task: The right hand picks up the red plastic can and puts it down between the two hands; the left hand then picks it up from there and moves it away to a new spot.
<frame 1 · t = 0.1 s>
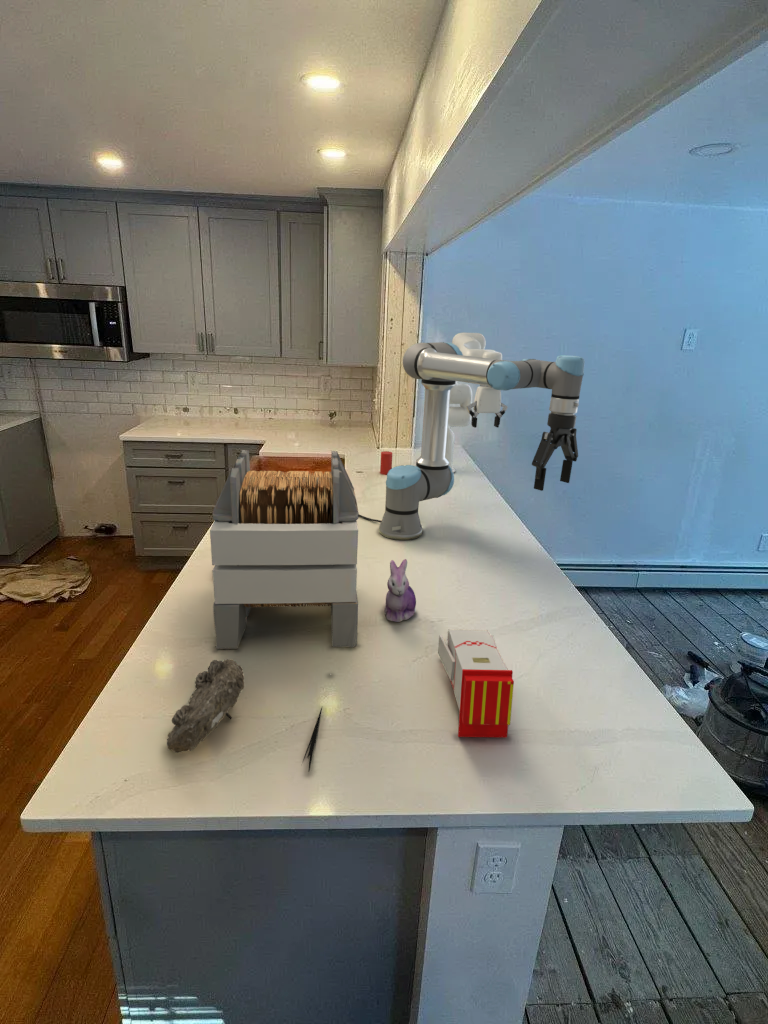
left hand: (551, 485, 166), 28 cm above the counter, tool pointing down, fingers open, 13 cm apart
right hand: (485, 426, 229), 31 cm above the counter, tool pointing down, fingers open, 9 cm apart
can: (385, 473, 272), on the counter
feather: (319, 719, 109), on the counter
fossil: (212, 717, 108), on the counter
figurine: (399, 614, 147), on the counter
toy: (469, 691, 119), on the counter
grey record storage rack: (290, 612, 146), on the counter
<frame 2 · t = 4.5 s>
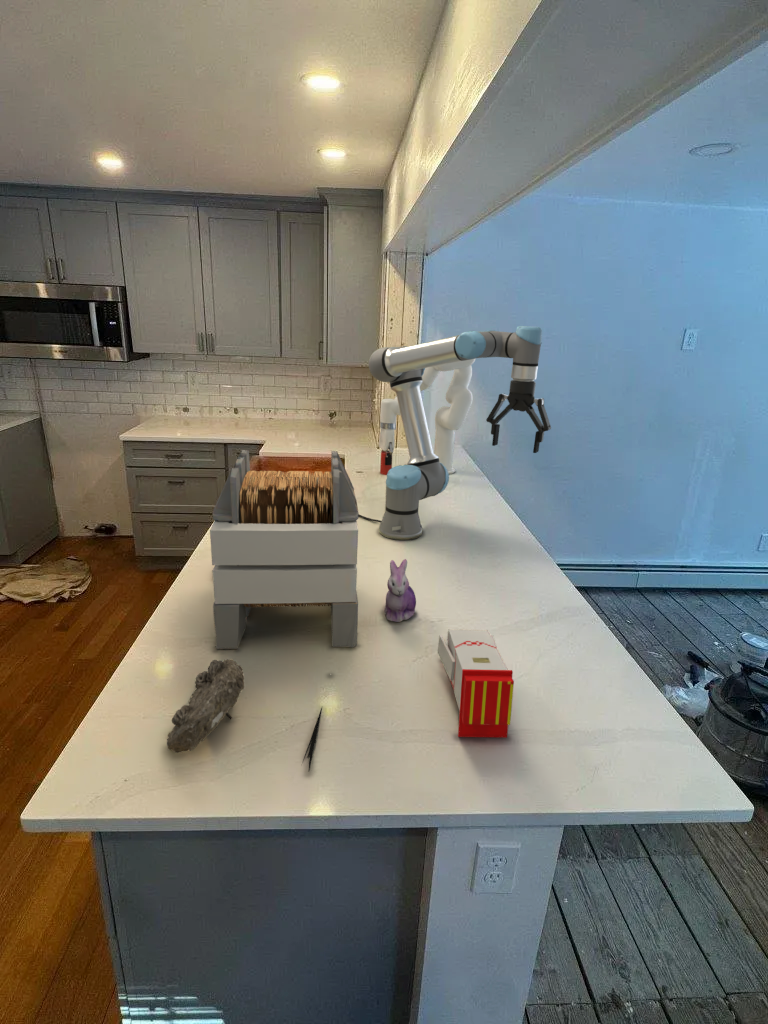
left hand: (514, 448, 179), 35 cm above the counter, tool pointing down, fingers open, 13 cm apart
right hand: (386, 463, 271), 5 cm above the counter, tool pointing down, fingers closed on can, 5 cm apart
can: (385, 473, 272), on the counter, touching right hand
everything else where it was.
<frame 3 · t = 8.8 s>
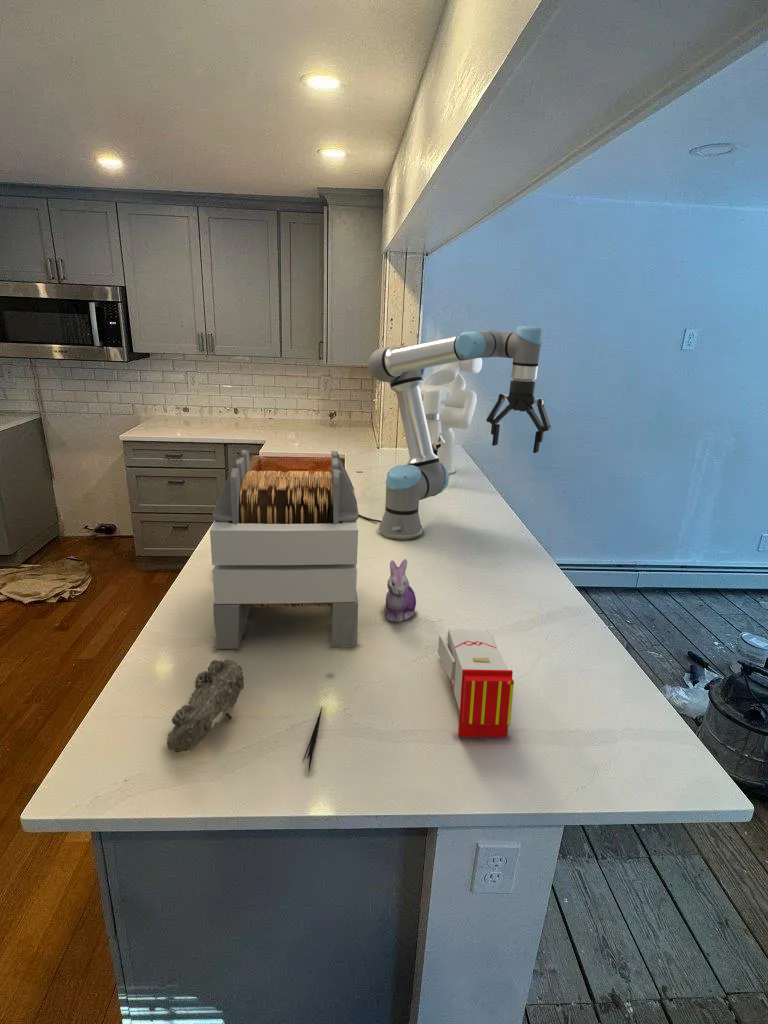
left hand: (514, 448, 179), 35 cm above the counter, tool pointing down, fingers open, 13 cm apart
right hand: (428, 456, 255), 13 cm above the counter, tool pointing down, fingers closed on can, 5 cm apart
can: (427, 467, 257), point 8 cm above the counter, touching right hand
everything else where it was.
when the right hand's fingers open (6 cm above the counter, at t = 13.3 s): can drops 1 cm, on the counter.
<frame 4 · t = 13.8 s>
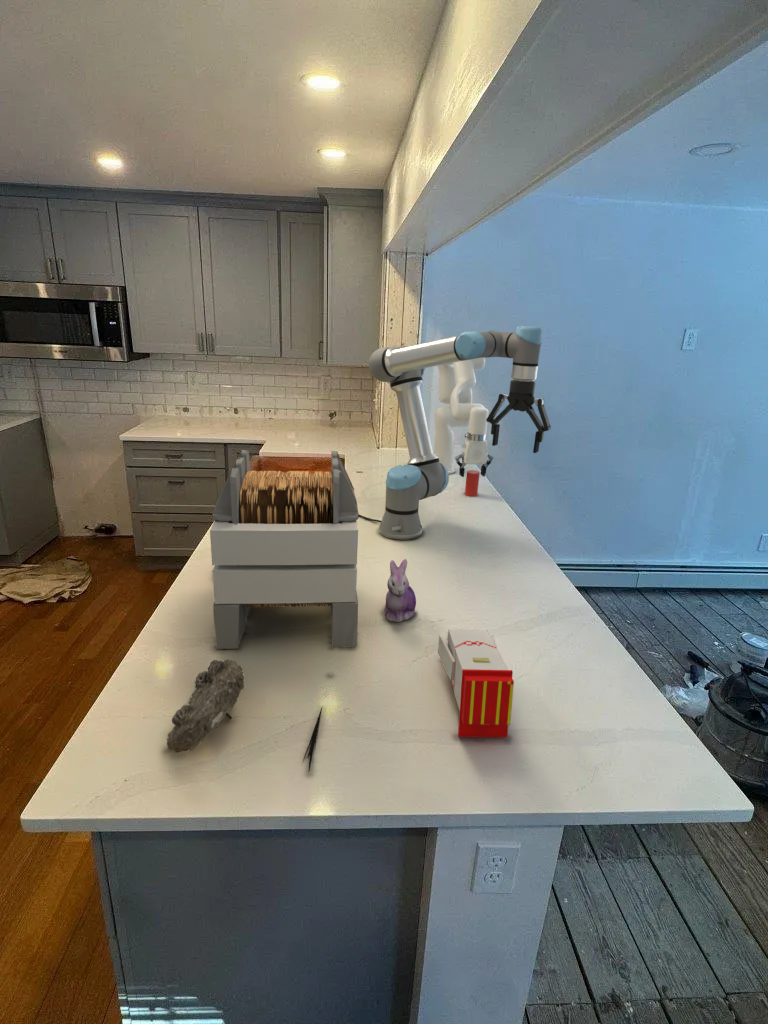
left hand: (514, 448, 179), 35 cm above the counter, tool pointing down, fingers open, 13 cm apart
right hand: (472, 475, 244), 8 cm above the counter, tool pointing down, fingers open, 9 cm apart
can: (471, 494, 247), on the counter
everything else where it was.
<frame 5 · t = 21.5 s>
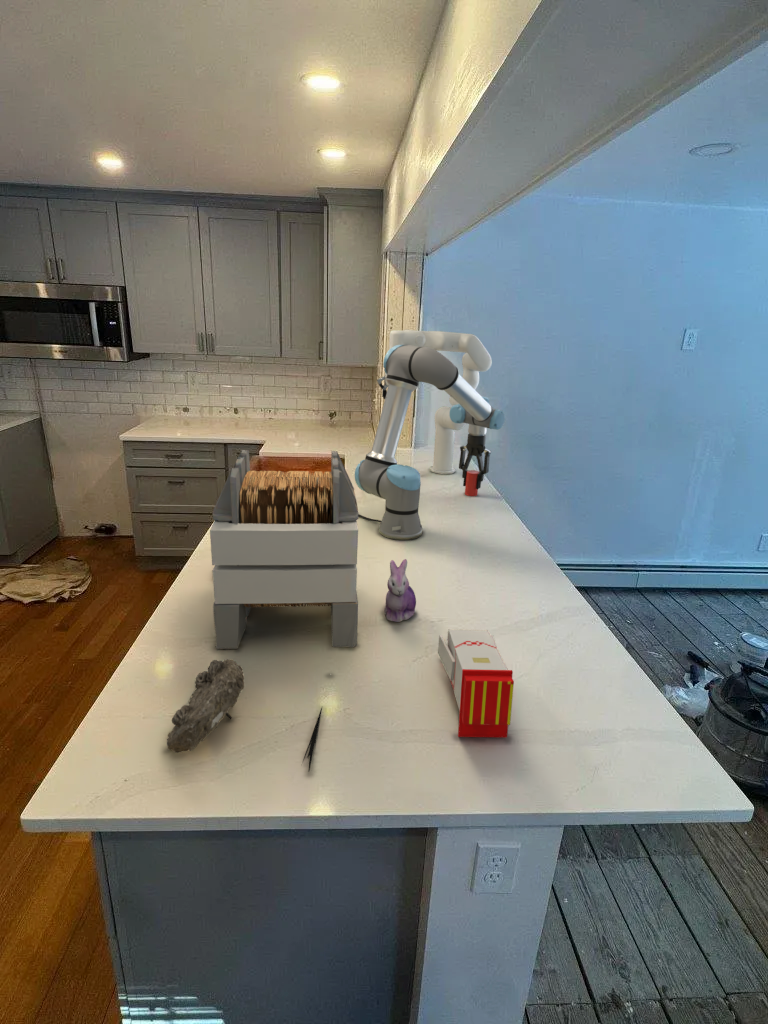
left hand: (471, 486, 245), 4 cm above the counter, tool pointing down, fingers closed on can, 5 cm apart
right hand: (395, 398, 255), 36 cm above the counter, tool pointing down, fingers open, 9 cm apart
can: (471, 494, 247), on the counter, touching left hand
everything else where it was.
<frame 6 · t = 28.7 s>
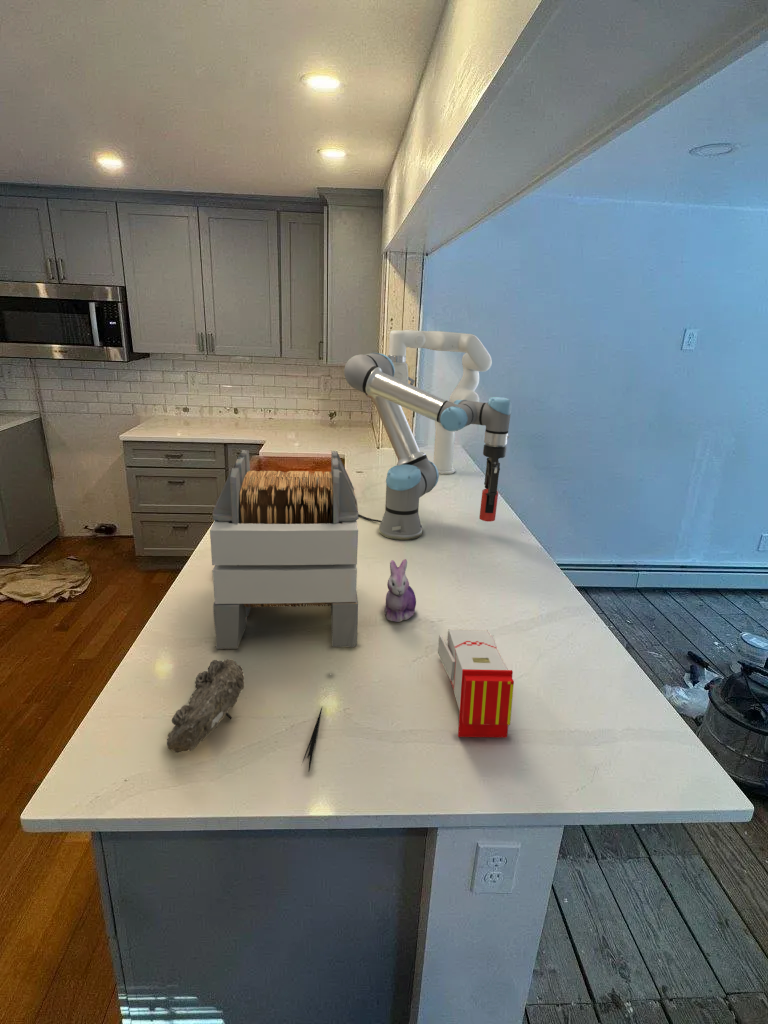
left hand: (487, 509, 198), 10 cm above the counter, tool pointing down, fingers closed on can, 5 cm apart
right hand: (395, 398, 255), 36 cm above the counter, tool pointing down, fingers open, 9 cm apart
can: (487, 518, 199), point 7 cm above the counter, touching left hand
everything else where it was.
when the left hand's fingers open (5 cm above the counter, at t = 35.8 s): can drops 1 cm, on the counter.
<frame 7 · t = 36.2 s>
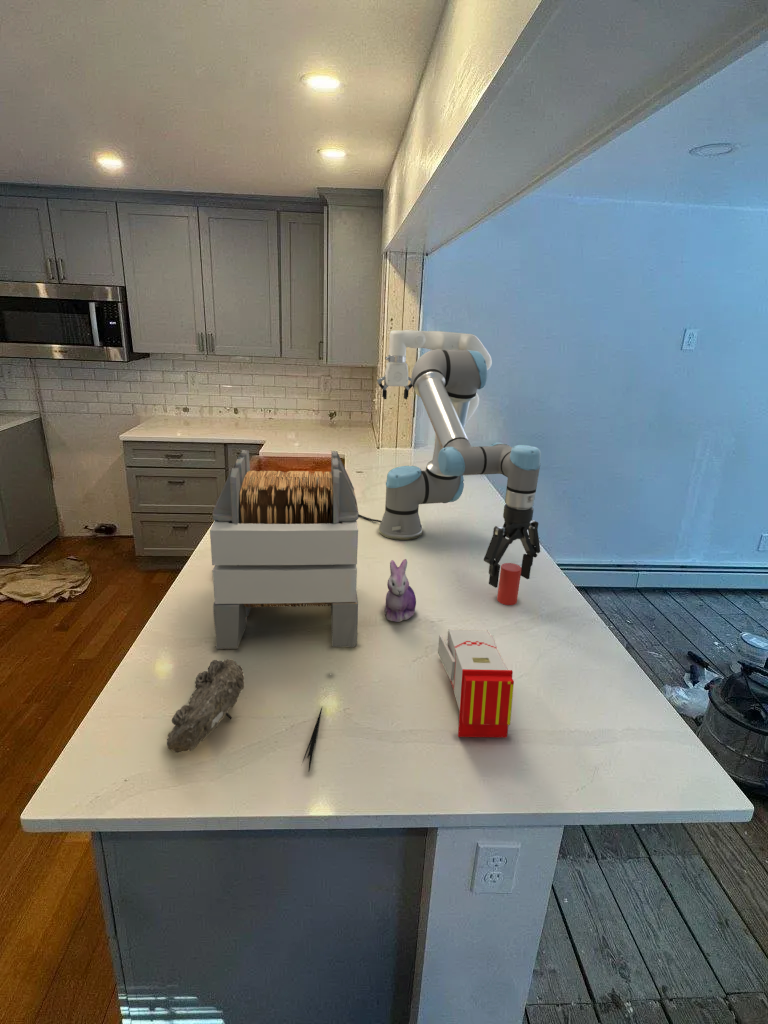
left hand: (509, 581, 155), 6 cm above the counter, tool pointing down, fingers open, 11 cm apart
right hand: (395, 398, 255), 36 cm above the counter, tool pointing down, fingers open, 9 cm apart
can: (506, 600, 157), on the counter
everything else where it was.
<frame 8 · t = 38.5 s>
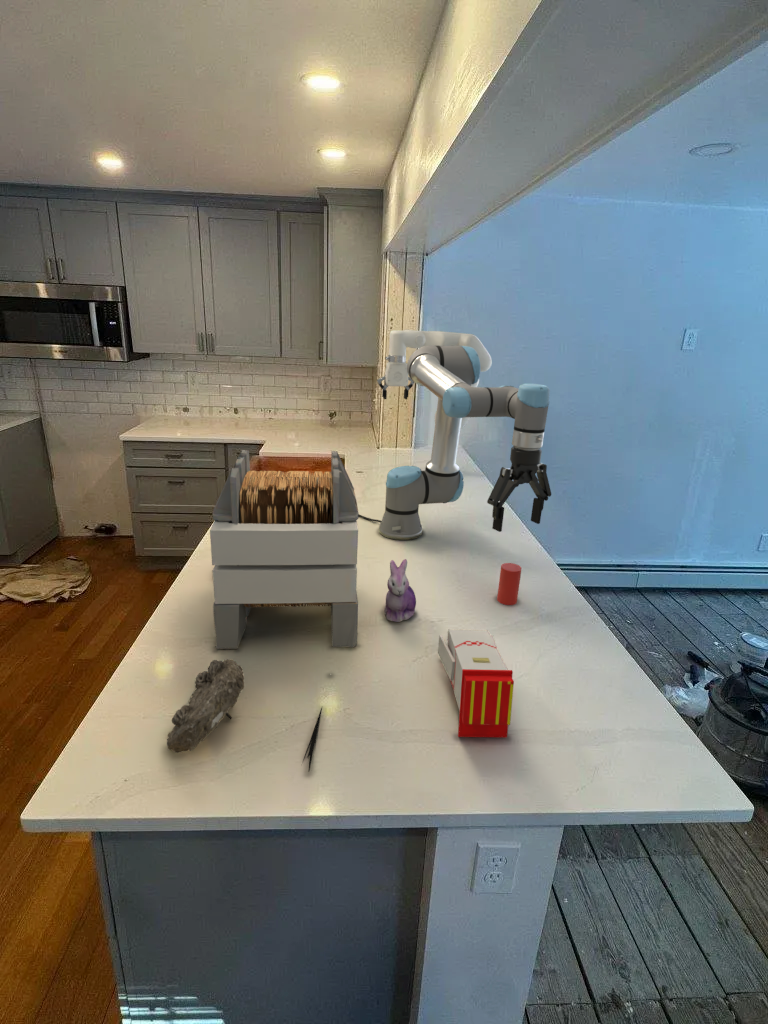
left hand: (516, 526, 150), 22 cm above the counter, tool pointing down, fingers open, 13 cm apart
right hand: (395, 398, 255), 36 cm above the counter, tool pointing down, fingers open, 9 cm apart
nothing on the counter moved.
at the end: can inside the target area (0.1 cm from its centre), on the counter; can tilted 0°; the two hands never held the can at the same time; the left hand is holding nothing; the right hand is holding nothing; can at rest at the end (0.0 cm/s) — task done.
